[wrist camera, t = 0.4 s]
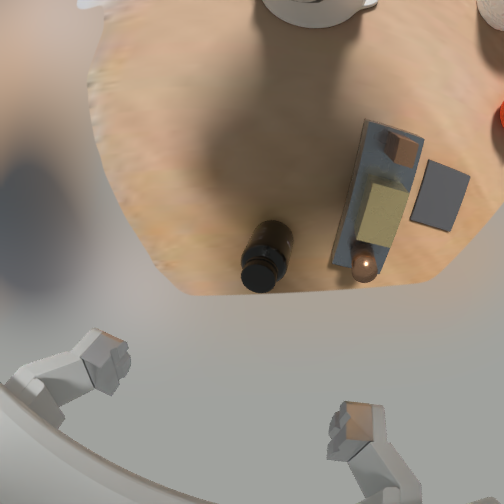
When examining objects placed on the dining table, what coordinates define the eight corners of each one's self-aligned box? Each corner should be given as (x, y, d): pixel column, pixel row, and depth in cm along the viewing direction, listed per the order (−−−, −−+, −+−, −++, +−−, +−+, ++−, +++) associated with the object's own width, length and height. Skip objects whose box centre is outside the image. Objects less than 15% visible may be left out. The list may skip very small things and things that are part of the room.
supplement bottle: (302, 240, 47) (294, 284, 37) (273, 261, 51) (258, 307, 41) (273, 210, 45) (257, 248, 36) (245, 234, 49) (223, 275, 39)
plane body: (364, 118, 35) (377, 126, 26) (415, 134, 33) (440, 148, 25) (332, 250, 47) (331, 287, 38) (376, 260, 46) (384, 298, 37)
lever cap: (368, 174, 35) (373, 183, 32) (402, 183, 34) (409, 193, 31) (353, 226, 39) (356, 239, 36) (385, 234, 39) (390, 248, 35)
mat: (428, 159, 35) (429, 160, 34) (468, 175, 34) (470, 176, 33) (409, 218, 40) (410, 219, 40) (448, 230, 39) (450, 231, 39)
